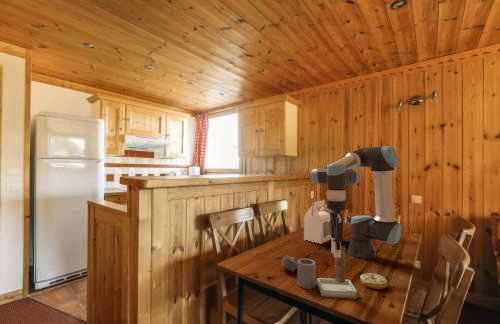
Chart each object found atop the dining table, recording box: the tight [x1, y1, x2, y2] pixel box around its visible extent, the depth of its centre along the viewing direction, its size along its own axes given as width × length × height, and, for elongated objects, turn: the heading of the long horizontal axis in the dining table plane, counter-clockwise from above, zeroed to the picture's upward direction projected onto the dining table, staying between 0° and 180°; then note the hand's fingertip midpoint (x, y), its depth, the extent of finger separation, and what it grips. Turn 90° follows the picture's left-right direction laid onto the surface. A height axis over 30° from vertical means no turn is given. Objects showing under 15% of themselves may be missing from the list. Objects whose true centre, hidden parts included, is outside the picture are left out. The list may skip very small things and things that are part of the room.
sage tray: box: [316, 277, 359, 299], centre depth 103 cm, size 14×11×2 cm
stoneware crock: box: [296, 258, 316, 289], centre depth 109 cm, size 8×8×10 cm
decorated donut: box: [359, 272, 388, 290], centre depth 109 cm, size 10×11×4 cm
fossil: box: [281, 254, 298, 272], centre depth 123 cm, size 11×9×8 cm
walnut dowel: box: [334, 245, 346, 283], centre depth 103 cm, size 5×4×14 cm
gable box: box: [303, 199, 332, 245], centre depth 180 cm, size 22×13×28 cm, turn 137°
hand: (336, 255), depth 104 cm, fingers closed on walnut dowel, 4 cm apart
